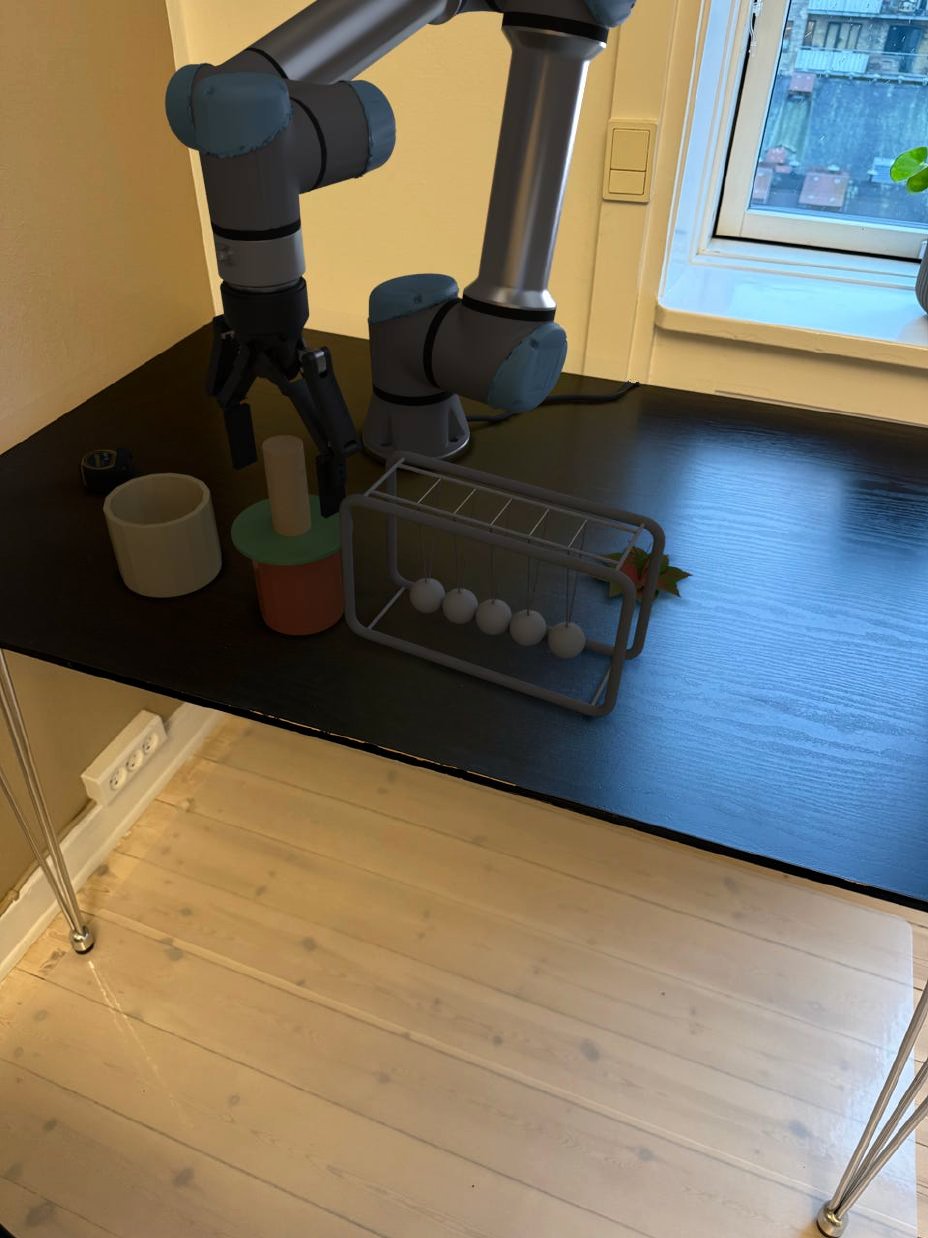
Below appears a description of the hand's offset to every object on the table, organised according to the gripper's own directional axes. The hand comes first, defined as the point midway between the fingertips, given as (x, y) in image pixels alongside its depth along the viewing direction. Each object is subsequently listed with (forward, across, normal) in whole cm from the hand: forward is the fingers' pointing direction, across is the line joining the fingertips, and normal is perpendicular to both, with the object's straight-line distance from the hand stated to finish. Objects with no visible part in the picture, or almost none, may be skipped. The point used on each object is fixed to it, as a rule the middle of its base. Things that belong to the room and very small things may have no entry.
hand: (288, 487), depth 97 cm
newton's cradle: (+15, +20, +9) cm, 27 cm away
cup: (+16, 0, 0) cm, 16 cm away
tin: (+16, -17, -5) cm, 24 cm away
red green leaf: (+16, +25, +30) cm, 42 cm away
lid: (+5, 0, 0) cm, 5 cm away
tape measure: (+16, -39, +2) cm, 42 cm away
